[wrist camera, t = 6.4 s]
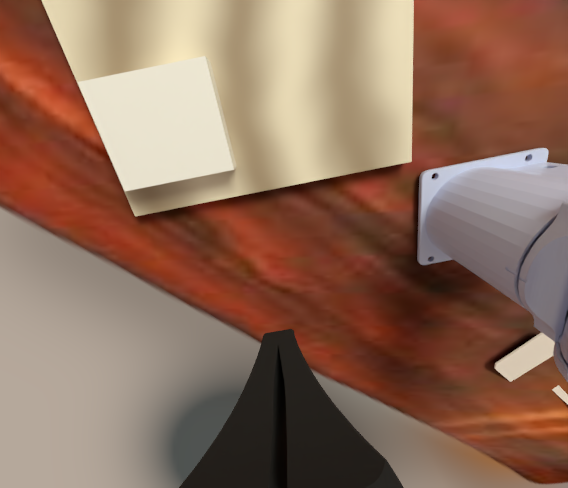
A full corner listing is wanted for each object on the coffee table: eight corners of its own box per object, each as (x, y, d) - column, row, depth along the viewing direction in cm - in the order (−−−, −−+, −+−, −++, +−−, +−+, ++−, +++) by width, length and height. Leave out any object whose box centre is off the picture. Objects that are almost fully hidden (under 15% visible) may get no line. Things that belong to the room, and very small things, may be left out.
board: (405, -113, 14) (415, -130, 13) (404, 160, 20) (411, 161, 19) (37, -35, 14) (21, -46, 13) (141, 212, 20) (135, 216, 19)
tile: (205, 56, 14) (77, 81, 14) (234, 169, 16) (124, 191, 17) (210, 63, 16) (95, 86, 16) (236, 166, 18) (136, 186, 18)
